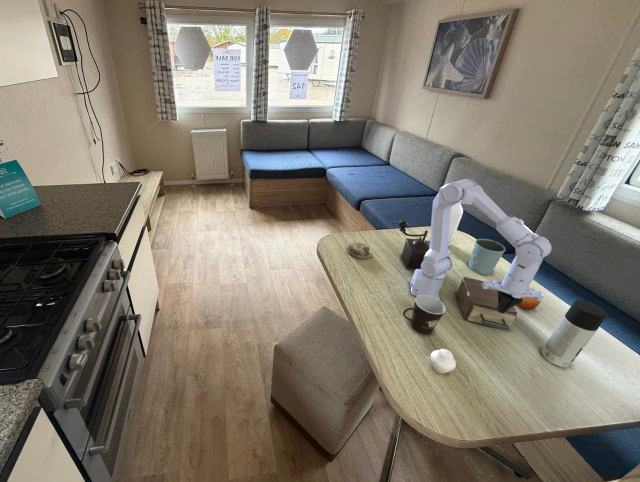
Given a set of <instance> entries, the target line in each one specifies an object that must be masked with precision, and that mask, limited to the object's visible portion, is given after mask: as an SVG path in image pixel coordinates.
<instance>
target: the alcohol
mask: <svg viewBox="0 0 640 482" xmlns="http://www.w3.org/2000/svg"><path fill="white" fill-rule="evenodd" d="M461 201H462V200H461ZM461 201H459V202H458V203H456V204H455V205H453V206H452V207H451V214H450V225H449V236H448V247H450V246H451V245H452V243H453V240H454V237H455V234H456V232H457V230H458V227H459V224H460V222H461V220H462V217H463V214H464V209H463V206H462V204H461V203H460V202H461Z"/></svg>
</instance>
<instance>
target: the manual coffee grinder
mask: <svg viewBox="0 0 640 482" xmlns="http://www.w3.org/2000/svg"><path fill="white" fill-rule="evenodd" d="M397 226H398V227H399V231H400V233H401V232H402V234H403V235H404V236H406V237H407V238H405V242H404V245H403V248H402V252H401V254H400V259H401V261H402V263H403V266H404V268H405V269H407V270H412V271H415V270H416V269H421V264H422V262H423V261H424V256H425V254H426V253H427V252H428V250H429V249H430V240H426V238H427V236H428V233H429V230H424V232H423V233H421V234H410V233H407V227H408V226H409V223H408V221H407V220H404V219H401V220H399V221H398V222H397ZM408 237H410V238H408ZM413 237H415V238H413ZM417 237H419V238H417Z"/></svg>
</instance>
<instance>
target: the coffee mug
mask: <svg viewBox="0 0 640 482" xmlns="http://www.w3.org/2000/svg"><path fill="white" fill-rule="evenodd" d="M446 309H447V308H446V306H445V304H444V303H443V302H442V301H441V299H440V300H438V299H436V298H434V297H432V296H428V295H419V296H416V297H415V299H414V303H413V307H409V308H406V309H404V311H403V313H402V315H403V318H405V319H406V320H408V321H410V327H411V328H412V330H414V331H415V332H416V333H418V334H420V335H424V336H429V335H431V334H432V332H433V331H434V329H435V328H436V326H437V325H438V323H439V322H440V320H441V318H442V317H443V315H444V314H445V312H446ZM409 311H412V314H411V318H410V317H408V316H406V313H407V312H409Z"/></svg>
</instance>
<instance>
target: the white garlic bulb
mask: <svg viewBox="0 0 640 482" xmlns="http://www.w3.org/2000/svg"><path fill="white" fill-rule="evenodd" d="M430 361H431V364H432V367H433V370H435V371H436V372H437V373H439V374H446V373H449V372H450V373H451V372H452V371H453V370H454V369H455V368H456V366H457V362H456V359H455V358H454V354H453V353H452V352H451V350H449V349H447V348H440V349H436V350H433V351H432V352H431V354H430Z"/></svg>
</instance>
